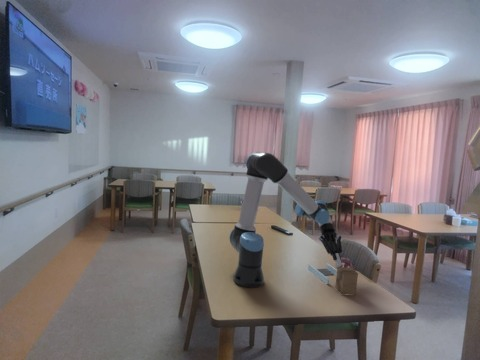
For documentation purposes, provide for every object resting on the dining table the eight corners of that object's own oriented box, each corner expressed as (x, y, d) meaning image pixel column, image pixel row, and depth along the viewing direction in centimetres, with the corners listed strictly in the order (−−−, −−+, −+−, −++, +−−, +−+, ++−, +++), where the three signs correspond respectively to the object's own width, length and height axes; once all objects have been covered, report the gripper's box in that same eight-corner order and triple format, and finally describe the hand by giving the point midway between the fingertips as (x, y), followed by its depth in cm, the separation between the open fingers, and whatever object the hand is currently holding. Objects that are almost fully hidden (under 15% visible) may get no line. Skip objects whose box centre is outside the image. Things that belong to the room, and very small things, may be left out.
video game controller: (350, 270, 183) (349, 258, 185) (353, 269, 178) (352, 257, 181) (334, 269, 182) (333, 257, 185) (337, 268, 178) (336, 256, 180)
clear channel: (307, 269, 175) (308, 264, 175) (327, 268, 179) (327, 263, 178) (327, 284, 156) (327, 279, 156) (348, 283, 160) (349, 278, 159)
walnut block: (335, 288, 153) (337, 267, 152) (348, 288, 154) (350, 267, 153) (341, 295, 146) (344, 273, 145) (355, 295, 147) (358, 273, 146)
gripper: (332, 229, 176) (346, 268, 162) (312, 228, 172) (325, 269, 158) (339, 222, 170) (354, 262, 156) (318, 222, 167) (332, 263, 152)
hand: (339, 266), depth 157 cm, fingers closed
